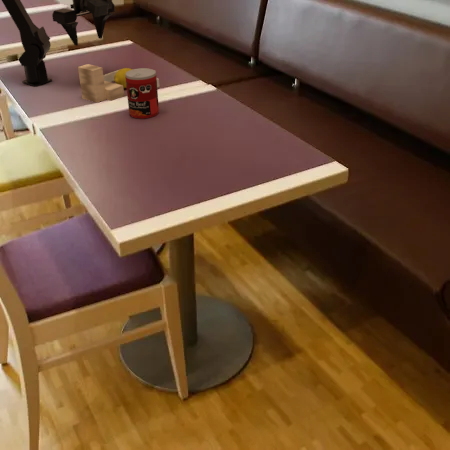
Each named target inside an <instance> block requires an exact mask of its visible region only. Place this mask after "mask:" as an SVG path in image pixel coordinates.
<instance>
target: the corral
mask: <svg viewBox="0 0 450 450" xmlns="http://www.w3.org/2000/svg"><path fill="white" fill-rule="evenodd" d="M119 70H120V69H117V70H115V71H111V72H109V73H105V74H103V76H104V81H107V82H111V83H113V82H115V81H114V76H115V74H116V72H117V71H119ZM158 88H160V79H159V78H158V77H157V89H158Z"/></svg>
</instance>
